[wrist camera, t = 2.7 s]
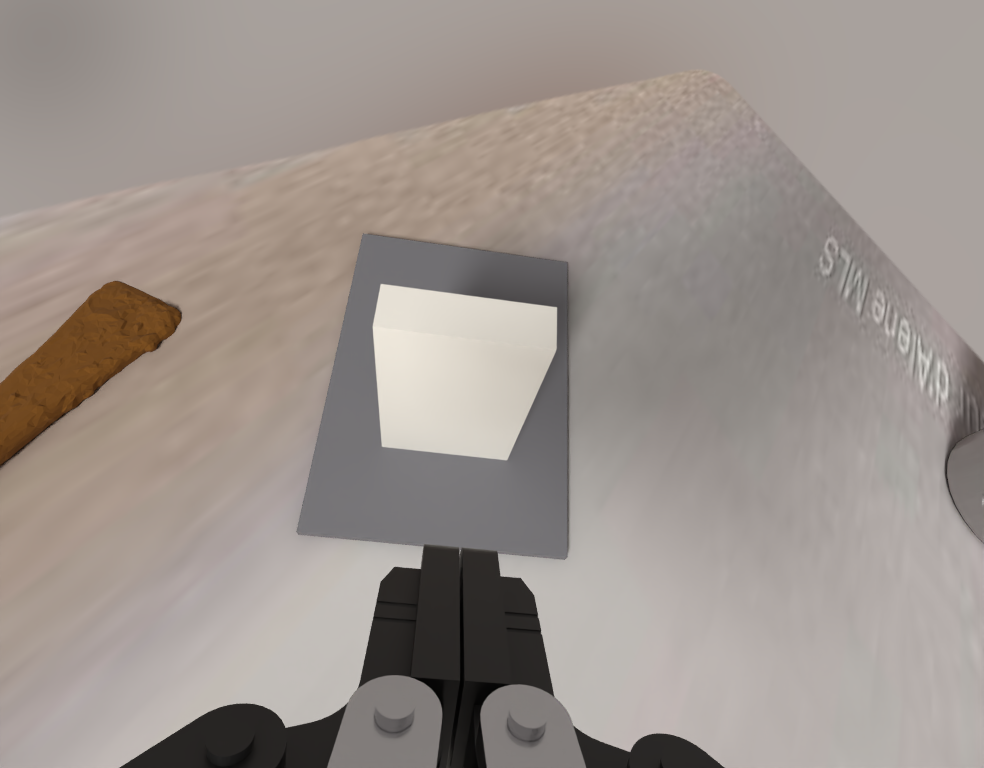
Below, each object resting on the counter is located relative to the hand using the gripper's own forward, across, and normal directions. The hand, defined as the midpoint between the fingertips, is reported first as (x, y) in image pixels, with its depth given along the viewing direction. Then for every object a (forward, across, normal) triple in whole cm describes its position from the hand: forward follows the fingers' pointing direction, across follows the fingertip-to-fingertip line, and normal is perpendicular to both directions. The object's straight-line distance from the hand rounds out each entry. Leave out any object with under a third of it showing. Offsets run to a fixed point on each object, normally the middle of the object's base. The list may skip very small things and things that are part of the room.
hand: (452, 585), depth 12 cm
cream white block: (+21, 0, +5) cm, 21 cm away
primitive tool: (+21, +22, +7) cm, 31 cm away
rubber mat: (+24, 0, +3) cm, 24 cm away
